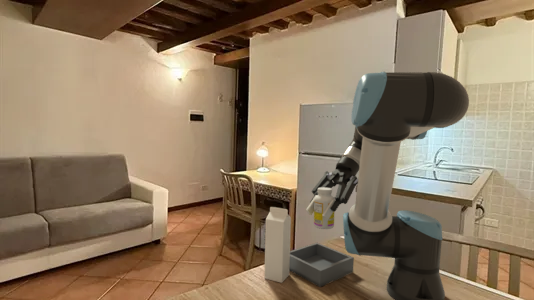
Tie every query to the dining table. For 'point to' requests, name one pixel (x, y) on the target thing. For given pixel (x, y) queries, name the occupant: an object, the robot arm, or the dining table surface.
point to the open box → (320, 264)
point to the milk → (277, 244)
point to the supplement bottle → (323, 208)
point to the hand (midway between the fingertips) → (316, 215)
